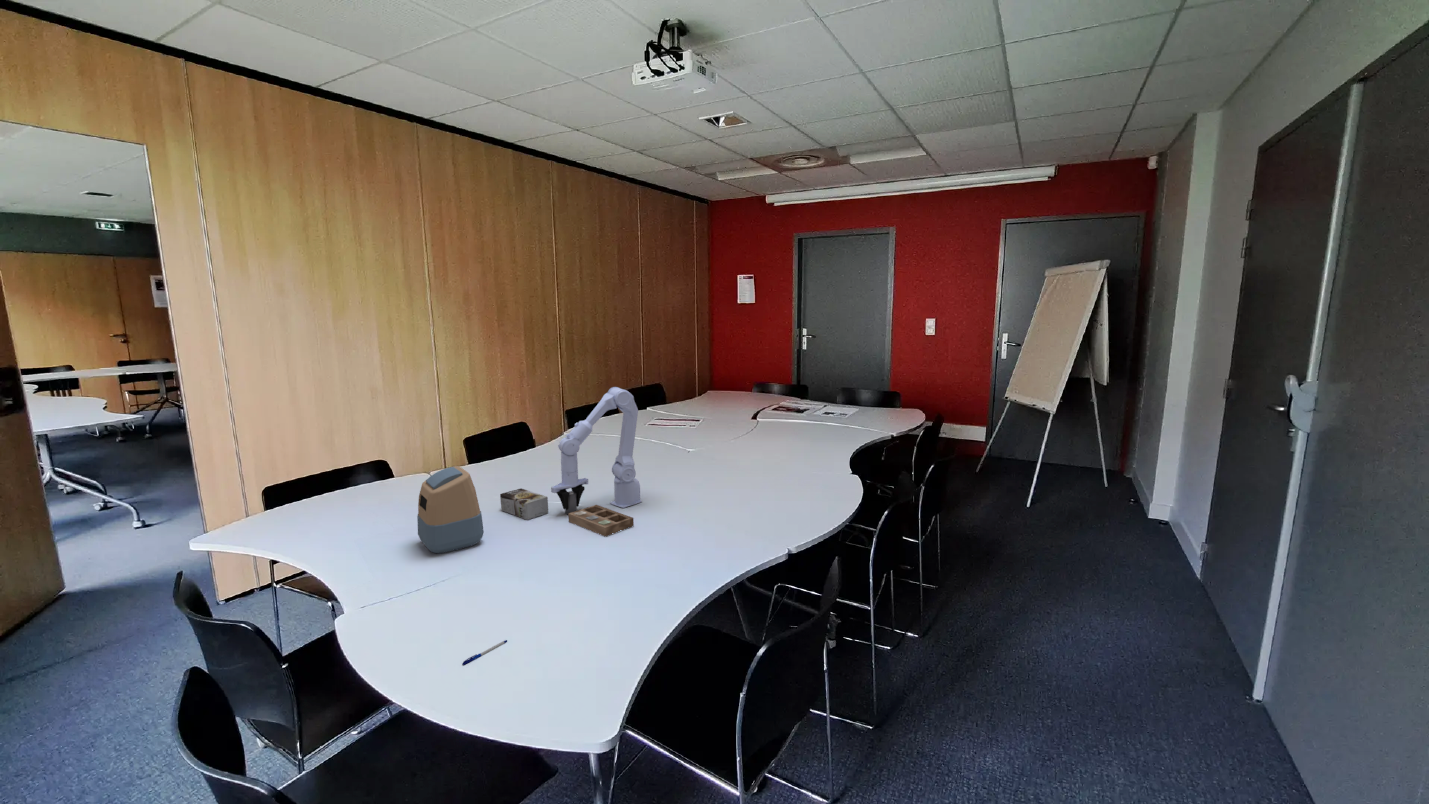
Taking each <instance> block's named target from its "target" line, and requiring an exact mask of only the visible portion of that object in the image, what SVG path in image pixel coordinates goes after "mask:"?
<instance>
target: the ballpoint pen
mask: <svg viewBox="0 0 1429 804" xmlns="http://www.w3.org/2000/svg"><path fill="white" fill-rule="evenodd" d="M507 642H508V640H507V639H505V640H503V641H501V642H499V643H497V644H495V645H493V646H492V647H490V648H488V649H486V650H484V651H481V652H480V653H478V654H476V653H475V654H474V655H471V656H469V657H468V658H466V659H465V660H463V662H462V663H461V664H462V666H465V665H467V664H469V663H471V662H473V661H475V660H477V659H479V658H481V657H483V656H484V655H486V654H488V653H490V652H492V651H494V650H496V649H498V647H501V646H502V645H505V644H506V643H507Z"/></svg>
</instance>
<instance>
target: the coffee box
mask: <svg viewBox="0 0 1429 804" xmlns="http://www.w3.org/2000/svg"><path fill="white" fill-rule="evenodd" d="M499 500H500V509H501V511H503V512H504V513H508V514H510V515H514V516H516V517H518V518H521V519H523V520H526V521H528V520H532V519H535V518H537V517H540V516H544V515H546V514H548V513H549V500H548V496H547V495H545V494H544V495H543V494H541V493H538V492H533V491H531V490H527V489H524V488H518V489H513V490H509V491H506V492H503V493H500V499H499Z"/></svg>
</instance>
